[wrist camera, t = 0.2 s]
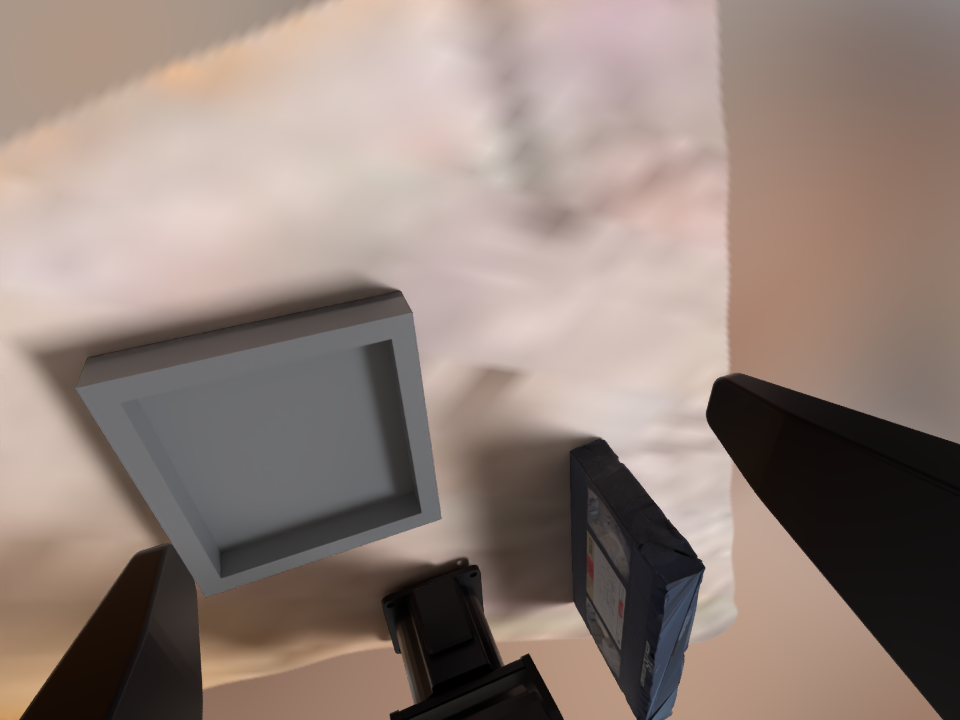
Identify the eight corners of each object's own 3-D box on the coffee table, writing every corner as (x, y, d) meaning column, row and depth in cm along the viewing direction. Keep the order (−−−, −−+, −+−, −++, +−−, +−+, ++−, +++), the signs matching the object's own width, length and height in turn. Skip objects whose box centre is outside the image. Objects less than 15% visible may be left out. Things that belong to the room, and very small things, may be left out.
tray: (431, 492, 31) (441, 519, 29) (207, 563, 28) (205, 597, 26) (400, 291, 23) (412, 312, 22) (87, 357, 20) (75, 388, 18)
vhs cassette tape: (567, 447, 33) (667, 586, 25) (609, 432, 34) (719, 562, 26) (566, 604, 44) (636, 734, 36) (598, 590, 45) (674, 715, 37)
